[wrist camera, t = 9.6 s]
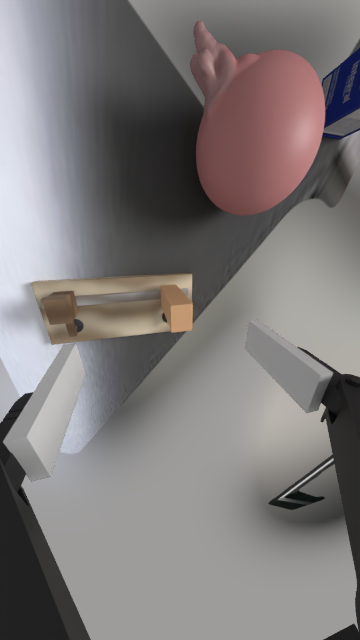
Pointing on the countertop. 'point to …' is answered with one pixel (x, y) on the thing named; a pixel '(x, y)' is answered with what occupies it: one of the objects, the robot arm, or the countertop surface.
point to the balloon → (254, 124)
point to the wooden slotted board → (105, 306)
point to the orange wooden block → (176, 308)
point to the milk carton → (342, 98)
